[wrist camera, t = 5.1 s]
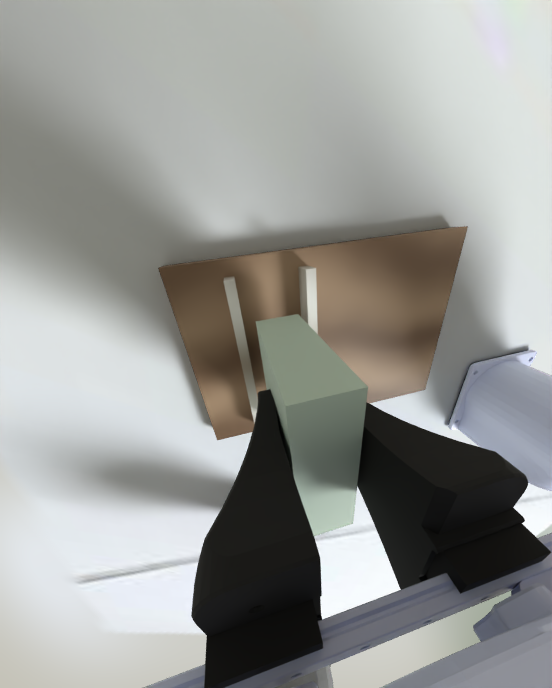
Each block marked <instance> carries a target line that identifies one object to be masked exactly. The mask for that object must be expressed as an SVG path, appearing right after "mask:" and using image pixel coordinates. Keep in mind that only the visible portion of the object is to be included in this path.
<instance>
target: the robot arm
mask: <svg viewBox="0 0 552 688" xmlns="http://www.w3.org/2000/svg"><path fill="white" fill-rule="evenodd" d="M536 354H537V352H536V351H534V350H528V351H524V352H520V353H515V354H511V355H507V356H502V357H498V358H494V359H490V360H485V361H481V362H477V363H473V364H472V365H471V366H470V368H469V370H468V373H467V376H466V379H465V381H464V384H463V387H462V390H461V392H460V395H459V398H458V401H457V404H456V406H455V409H454V412H453V415H452V417H451V420H450V423H449V426H448V427H449V428H450V429H451V430H456V429H459V430H460V431H461V432H462V433H464V434H465V435H466V436H467V437H468V438H470V439H471V440H472V441H473V442H475V443H476V444H477V445H478V446H479V447H477V446H474V445H470V444H466V443H463V442H459V441H456V440H453V439H450V438H447V437H444V436H441V435H438V434H435V433H433V432H430V431H427V430H425V429H422V428H420V427H417V426H415V425H412V424H410V423H407V422H405V421H403V420H400V419H398V418H396V417H394V416H392V415H390V414H388V413H386V412H384V411H382V410H380V409H378V408H376V407H374V406H373V405H371V404H369V403H367V402H366V410H365V419H364V428H363V437H362V446H361V455H360V464H359V473H358V482H357V486H358V488H359V490H360V492H361V495H362V497H363V499H364V501H365V504H366V506H367V508H368V510H369V513H370V515H371V517H372V520H373V522H374V524H375V527H376V529H377V532H378V534H379V536H380V539H381V541H382V543H383V546H384V548H385V551H386V553H387V556H388V558H389V561H390V563H391V566H392V568H393V571H394V574H395V576H396V579H397V581H398V584H399V587H400V589H401V590H399V591H397V592H394V593H391V594H389V595H386V596H384V597H381V598H378V599H376V600H373V601H370V602H368V603H365V604H362V605H360V606H357V607H355V608H352V609H349V610H347V611H344V612H341V613H339V614H336V615H333V616H331V617H328V618H326V619H323V620H322V617H321V606H320V596H322V595H321V567H320V556H319V552H318V549H317V546H316V542H315V539H314V535H313V532H312V529H311V526H310V523H309V521H308V518H307V515H306V512H305V509H304V506H303V503H302V501H301V498H300V495H299V492H298V489H297V486H296V483H295V480H294V477H293V474H292V471H291V468H290V464H289V461H288V458H287V455H286V452H285V448H284V445H283V442H282V438H281V435H280V431H279V425H278V419H277V413H276V407H275V401H274V398H273V395H272V393H271V390H270V389H268V390H263V391H259V392H258V406H257V413H256V419H255V424H254V428H253V432H252V436H251V440H250V443H249V446H248V449H247V452H246V455H245V458H244V460H243V463H242V466H241V468H240V471H239V473H238V475H237V478H236V480H235V482H234V484H233V486H232V489H231V491H230V493H229V495H228V497H227V499H226V501H225V503H224V505H223V507H222V509H221V511H220V513H219V514H218V516H217V518H216V520H215V521H214V523H213V525H212V527H211V529H210V530H209V532H208V534H207V536H206V538H205V540H204V543H203V547H202V551H201V554H200V558H199V563H198V567H197V572H196V578H195V584H194V594H193V605H192V615H191V616H192V618H193V621H194V622H195V623H196V625H197V626H198V627H199V628H200V629H201V630H202V631H203V632H204V633H205V634H206V635H207V643H206V661H205V664H204V665H202V666H199V667H196V668H194V669H191V670H189V671H186V672H183V673H180V674H178V675H175V676H173V677H170V678H167V679H165V680H162V681H159V682H157V683H154V684H151V685H149V686H146V687H144V688H275V687H277V686H280V685H282V684H285V683H287V682H289V681H292V680H294V679H297V678H299V677H302V676H304V675H307V674H309V673H311V672H314V671H316V670H319V669H321V668H324V667H326V666H328V665H331V664H333V663H336V662H338V661H340V660H343V659H345V658H348V657H350V656H353V655H355V654H357V653H360V652H363V651H365V650H367V649H370V648H372V647H375V646H377V645H379V644H382V643H384V642H387V641H389V640H392V639H394V638H397V637H399V636H401V635H404V634H406V633H409V632H411V631H414V630H416V629H419V628H421V627H423V626H426V625H428V624H431V623H433V622H435V621H438V620H440V619H443V618H445V617H448V616H450V615H453V614H455V613H457V612H460V611H462V610H465V609H467V608H470V607H472V606H475V605H477V604H479V603H482V602H484V601H486V600H489V599H492V598H494V597H496V596H499V595H501V594H504V593H506V592H509V591H511V590H512V591H511V595H512V596H510V597H508V598H506V599H505V600H503V601H501V602H499V603H498V604H495V605H494V606H493V608H492V610H491V611H490V612H489V613H488V614H487V615H486V616H485V617H484V618H483V619H481V620H480V621H479V622H477V623H476V624H475V625H474V626H473V628H474V631H475V633H476V635H477V636H478V638H479V639H480V641H481V642H479V643H477V644H474V645H472V646H470V647H468V648H465V649H463V650H461V651H458V652H456V653H454V654H452V655H449V656H447V657H445V658H443V659H441V660H438V661H436V662H434V663H432V664H430V665H427V666H425V667H423V668H421V669H419V670H417V671H414V672H412V673H410V674H408V675H406V676H404V677H402V678H400V679H398V680H395V681H393V682H391V683H389V684H387V685H385V686H383V687H381V688H552V533H550V534H547V535H544V536H542V537H539V538H536V537H535V536H534V535H533V534H532V533H531V532H530V531H529V530H528V529H527V528H526V527H525V526H524V525H523V524H522V523H523V522H524V521H525V520H524V518H523V516H521V515H520V514H519V513H518V512H517V511H516V510H515V509H514V508H513V507H514V505H515V504H516V503H517V501H518V500H519V499H520V497H521V496H522V494H523V493H524V492H525V490H526V488H527V486H528V483H530V484H532V485H535V486H537V487H539V488H542V489H545V490H549V491H552V376H551V375H549V374H546V373H544V372H542V371H539V370H537V369H534V368H532V367H530V366H531V364H532V362H533V360H534V358H535V356H536ZM292 688H318V685H317V684H316V683H315V682H310V683H306V684H303V685H299V686H296V687H292Z"/></svg>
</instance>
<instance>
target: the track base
mask: <svg viewBox="0 0 552 688" xmlns="http://www.w3.org/2000/svg"><path fill="white" fill-rule="evenodd" d="M467 228H468V226H466V227H451V228H443V229H436V230H428V231H421V232H413V233H406V234H398V235H391V236H383V237H376V238H368V239H361V240H353V241H346V242H338V243H331V244H323V245H316V246H308V247H301V248H293V249H286V250H279V251H271V252H264V253H256V254H249V255H241V256H234V257H226V258H219V259H211V260H204V261H196V262H189V263H181V264H174V265H166V266H162V267H160V268H158V269H159V272H160V275H161V277H162V280H163V283H164V286H165V289H166V292H167V295H168V298H169V301H170V304H171V307H172V309H173V312H174V315H175V318H176V321H177V324H178V327H179V330H180V333H181V336H182V339H183V342H184V344H185V347H186V350H187V353H188V356H189V359H190V362H191V365H192V368H193V371H194V374H195V377H196V379H197V382H198V385H199V388H200V391H201V394H202V397H203V400H204V403H205V406H206V409H207V411H208V414H209V417H210V420H211V423H212V426H213V429H214V432H215V435H216V438H217V440H221V439H225V438H229V437H233V436H237V435H241V434H245V433H249V432H253V428H254V424H255V419H256V413H257V406H258V392H259V391H263V390H267V388H266V382H265V376H264V370H263V363H262V357H261V351H260V345H259V339H258V333H257V327H256V321H261V320H267V319H272V318H278V317H284V316H290V315H295V314H299V316H300V317H301V318H302V319H303V320H304V321H305V322H306V323H307V324H308V325H309V326H310V327H311V328H312V329H313V330H314V331H315V332H316V333H317V334H318V335H319V336H320V337H321V338H322V339H323V341H324V342H325V343H326V344H327V345H328V346H329V347H330V348H331V349H332V350H333V351H334V352H335V353H336V354H337V355H338V356H339V357H340V358H341V359H342V360H343V361H344V362H345V363H346V364H347V366H348V367H349V368H350V369H351V370H352V371H353V372H354V373H355V374H356V375H357V376H358V377H359V378H360V379H361V380H362V381H363V382H364V383H365V384H366V385H367V386H368V392H367V401H366V402H367V403H373V402H377V401H381V400H385V399H389V398H393V397H397V396H401V395H405V394H410V393H414V392H418V391H422V390H425V388H426V384H427V380H428V376H429V373H430V369H431V365H432V361H433V357H434V353H435V350H436V346H437V342H438V338H439V334H440V331H441V327H442V323H443V319H444V315H445V311H446V308H447V304H448V300H449V296H450V292H451V289H452V285H453V281H454V277H455V273H456V270H457V266H458V262H459V258H460V254H461V250H462V247H463V243H464V239H465V235H466V231H467Z"/></svg>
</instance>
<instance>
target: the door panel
mask: <svg viewBox="0 0 552 688" xmlns="http://www.w3.org/2000/svg"><path fill="white" fill-rule="evenodd" d="M256 327H257V333H258V339H259V345H260V351H261V357H262V363H263V370H264V376H265V382H266V388H267V390H268V389H270V390H271V393H272V395H273V398H274V401H275V407H276V413H277V419H278V425H279V431H280V435H281V438H282V442H283V445H284V448H285V452H286V455H287V458H288V461H289V464H290V468H291V471H292V474H293V477H294V480H295V483H296V486H297V489H298V492H299V495H300V498H301V501H302V503H303V506H304V509H305V512H306V515H307V518H308V521H309V523H310V526H311V529H312V532H313V535H314V536H316V535H319V534H322V533H325V532H329V531H332V530H335V529H338V528H341V527H344V526H347V525H350V524H353V518H354V509H355V500H356V491H357V482H358V473H359V464H360V455H361V446H362V437H363V428H364V419H365V410H366V401H367V392H368V386H367V385H366V384H365V383H364V382H363V381H362V380H361V379H360V378H359V377H358V376H357V375H356V374H355V373H354V372H353V371H352V370H351V369H350V368H349V367H348V366H347V364H346V363H345V362H344V361H343V360H342V359H341V358H340V357H339V356H338V355H337V354H336V353H335V352H334V351H333V350H332V349H331V348H330V347H329V346H328V345H327V344H326V343H325V342H324V341H323V339H322V338H321V337H320V336H319V335H318V334H317V333H316V332H315V331H314V330H313V329H312V328H311V327H310V326H309V325H308V324H307V323H306V322H305V321H304V320H303V319H302V318H301V317H300V316H299V314H295V315H290V316H284V317H278V318H272V319H267V320H261V321H256Z"/></svg>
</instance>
